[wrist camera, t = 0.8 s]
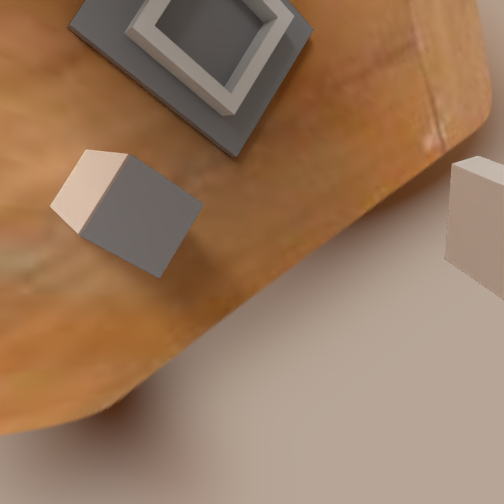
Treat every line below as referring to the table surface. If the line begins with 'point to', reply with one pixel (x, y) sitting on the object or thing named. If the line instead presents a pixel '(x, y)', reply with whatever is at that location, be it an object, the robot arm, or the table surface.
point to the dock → (200, 56)
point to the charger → (126, 208)
